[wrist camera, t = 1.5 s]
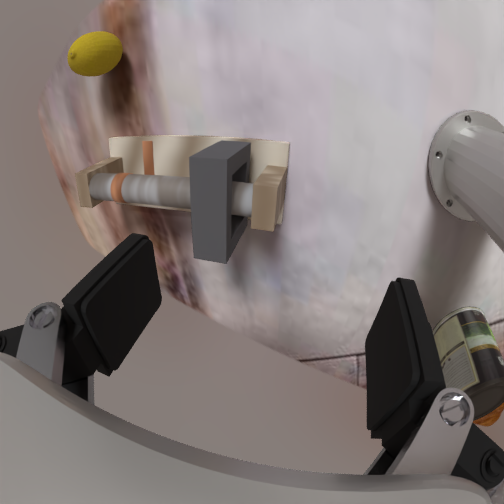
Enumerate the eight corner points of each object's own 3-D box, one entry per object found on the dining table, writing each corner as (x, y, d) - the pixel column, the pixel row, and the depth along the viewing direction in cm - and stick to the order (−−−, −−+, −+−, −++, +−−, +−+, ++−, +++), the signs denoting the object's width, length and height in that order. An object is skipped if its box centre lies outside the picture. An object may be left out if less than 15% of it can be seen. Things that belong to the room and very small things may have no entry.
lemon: (119, 82, 27) (73, 87, 20) (94, 63, 26) (48, 66, 19) (143, 45, 24) (97, 39, 17) (115, 28, 23) (70, 22, 16)
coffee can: (482, 295, 30) (517, 370, 18) (485, 336, 33) (509, 404, 22) (424, 323, 35) (443, 405, 23) (434, 359, 38) (447, 431, 26)
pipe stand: (289, 142, 27) (280, 157, 21) (282, 221, 32) (270, 256, 26) (112, 137, 31) (71, 152, 24) (119, 201, 36) (84, 226, 29)
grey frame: (251, 142, 26) (227, 159, 20) (247, 225, 31) (226, 263, 24) (221, 140, 26) (189, 157, 20) (220, 221, 31) (193, 258, 25)
